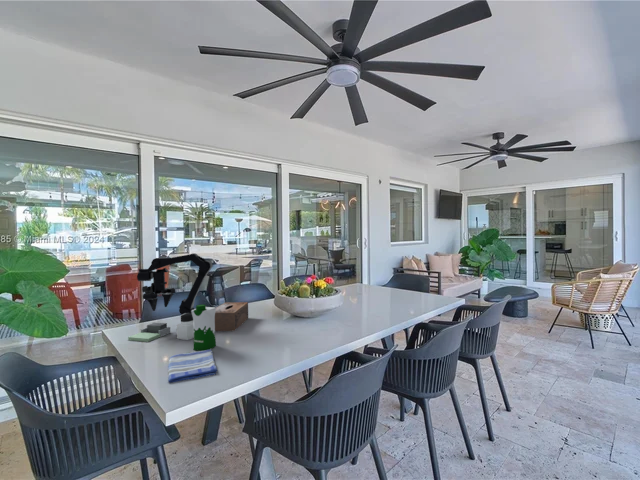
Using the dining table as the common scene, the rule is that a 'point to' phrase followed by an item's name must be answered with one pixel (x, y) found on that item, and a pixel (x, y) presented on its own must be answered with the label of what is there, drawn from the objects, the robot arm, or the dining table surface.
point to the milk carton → (204, 327)
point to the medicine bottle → (185, 327)
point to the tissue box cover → (230, 316)
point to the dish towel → (191, 365)
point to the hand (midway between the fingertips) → (160, 308)
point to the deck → (148, 335)
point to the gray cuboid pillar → (156, 327)
